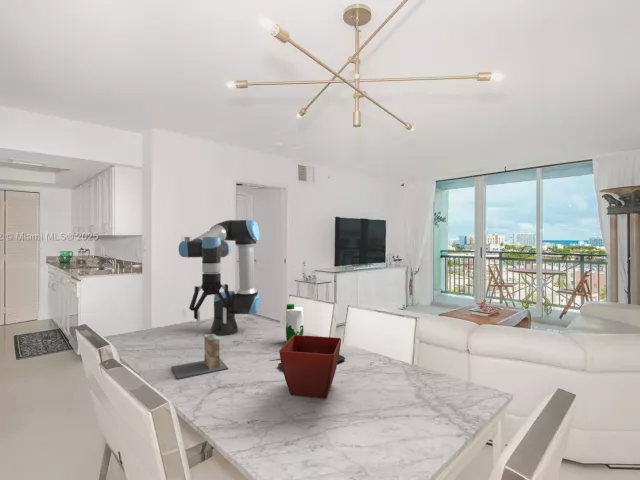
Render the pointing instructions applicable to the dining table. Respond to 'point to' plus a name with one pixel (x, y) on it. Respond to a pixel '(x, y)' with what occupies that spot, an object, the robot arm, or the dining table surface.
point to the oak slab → (212, 351)
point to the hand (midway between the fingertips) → (211, 324)
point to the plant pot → (310, 364)
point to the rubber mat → (195, 369)
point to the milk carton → (294, 321)
